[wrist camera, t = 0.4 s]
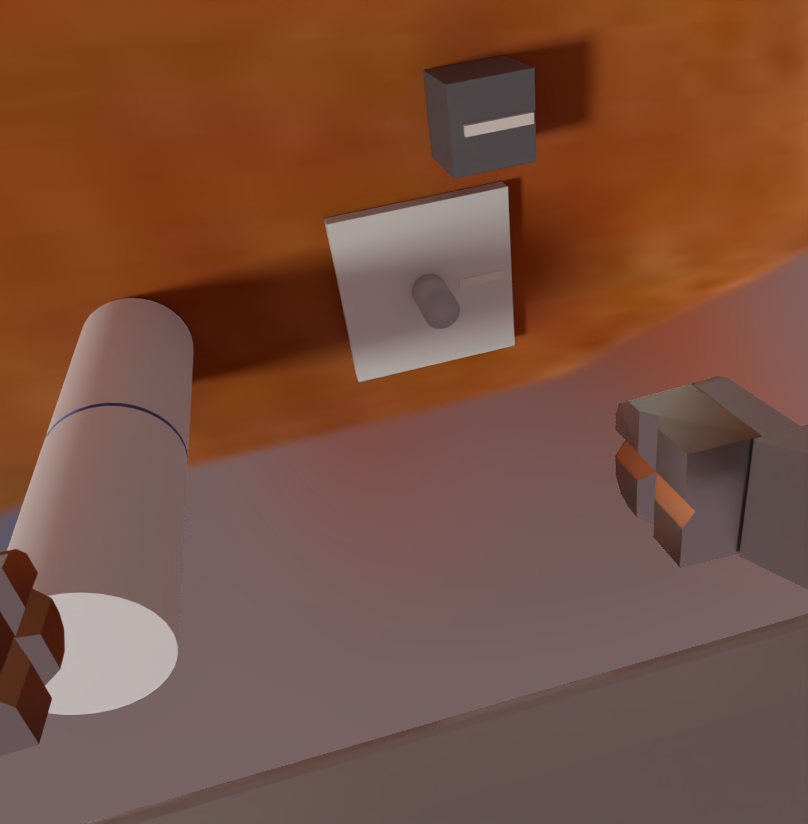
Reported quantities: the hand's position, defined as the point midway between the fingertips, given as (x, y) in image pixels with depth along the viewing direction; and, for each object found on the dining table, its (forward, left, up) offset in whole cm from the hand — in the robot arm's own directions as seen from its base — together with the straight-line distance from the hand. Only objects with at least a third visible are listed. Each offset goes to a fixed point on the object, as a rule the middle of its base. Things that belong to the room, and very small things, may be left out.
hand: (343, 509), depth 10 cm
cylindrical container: (+15, -11, -37) cm, 41 cm away
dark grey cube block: (+4, +13, -37) cm, 39 cm away
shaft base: (+15, +9, -37) cm, 41 cm away
